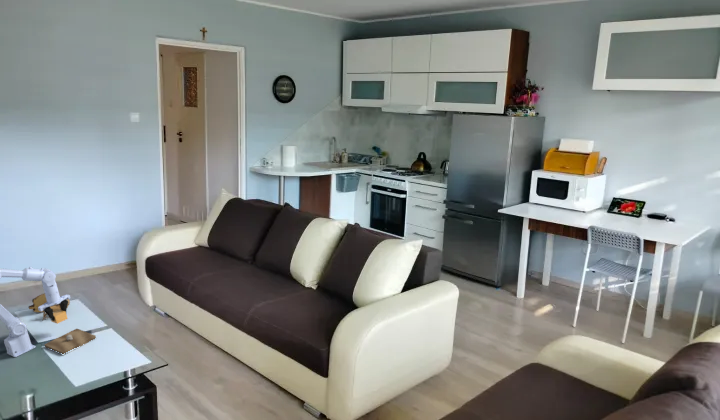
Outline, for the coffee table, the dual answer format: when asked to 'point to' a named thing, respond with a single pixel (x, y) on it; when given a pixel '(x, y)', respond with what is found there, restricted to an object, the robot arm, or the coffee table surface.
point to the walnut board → (70, 341)
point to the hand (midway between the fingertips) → (58, 317)
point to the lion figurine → (54, 309)
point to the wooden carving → (38, 302)
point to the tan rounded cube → (59, 316)
